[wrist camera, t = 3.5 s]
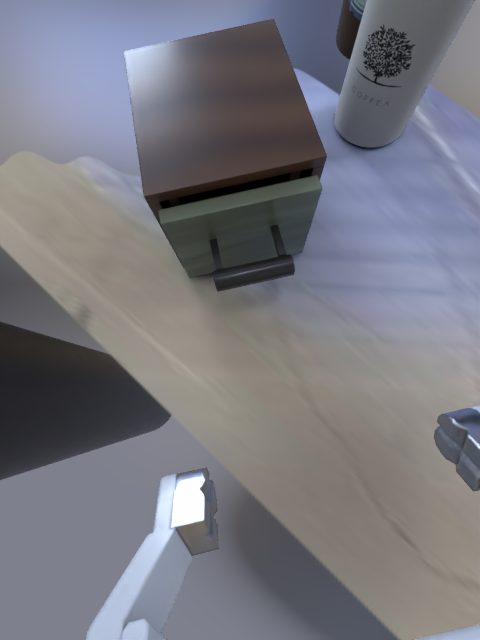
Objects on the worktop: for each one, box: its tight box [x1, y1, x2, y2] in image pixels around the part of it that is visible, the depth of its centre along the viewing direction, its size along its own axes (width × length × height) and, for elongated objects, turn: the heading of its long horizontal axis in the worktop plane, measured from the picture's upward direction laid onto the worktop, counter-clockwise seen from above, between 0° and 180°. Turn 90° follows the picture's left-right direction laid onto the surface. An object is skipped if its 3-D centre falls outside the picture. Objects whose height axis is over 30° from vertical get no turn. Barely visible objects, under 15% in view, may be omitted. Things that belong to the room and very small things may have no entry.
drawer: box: [159, 171, 322, 292], centre depth 24 cm, size 18×11×9 cm, turn 12°
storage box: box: [124, 19, 327, 268], centre depth 26 cm, size 15×13×11 cm
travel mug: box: [334, 0, 475, 147], centre depth 24 cm, size 8×8×18 cm
